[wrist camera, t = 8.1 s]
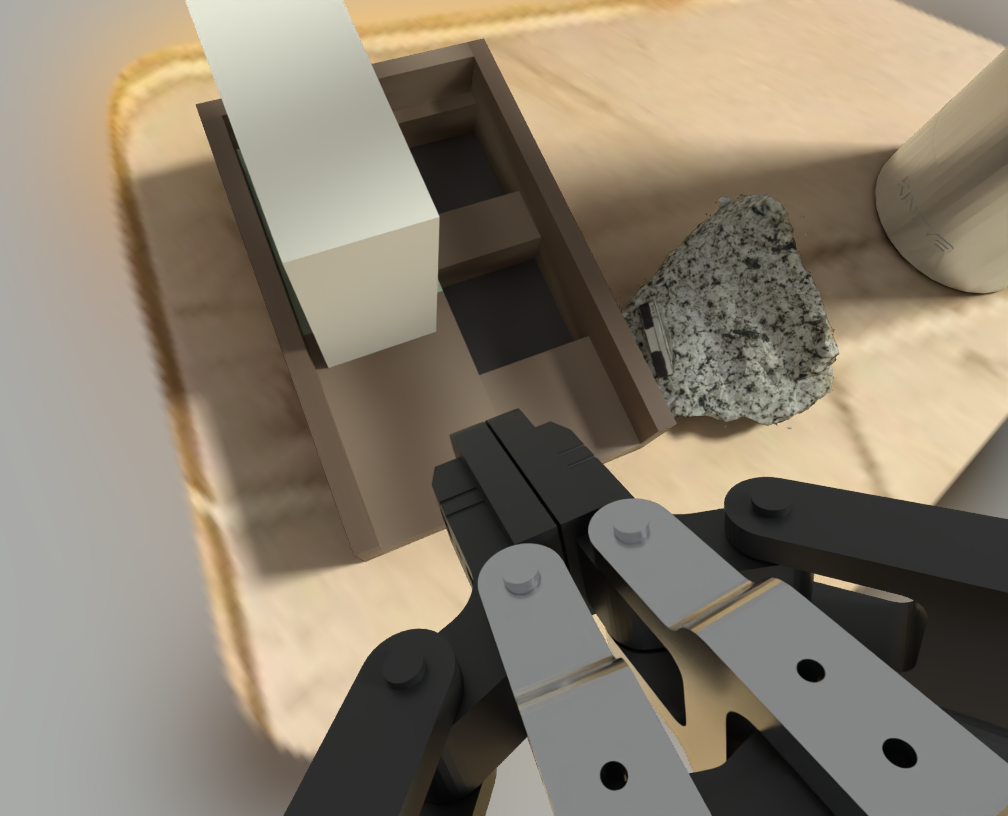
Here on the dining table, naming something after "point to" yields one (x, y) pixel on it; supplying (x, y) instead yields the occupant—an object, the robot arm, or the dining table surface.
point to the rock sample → (736, 319)
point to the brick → (327, 169)
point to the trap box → (458, 308)
